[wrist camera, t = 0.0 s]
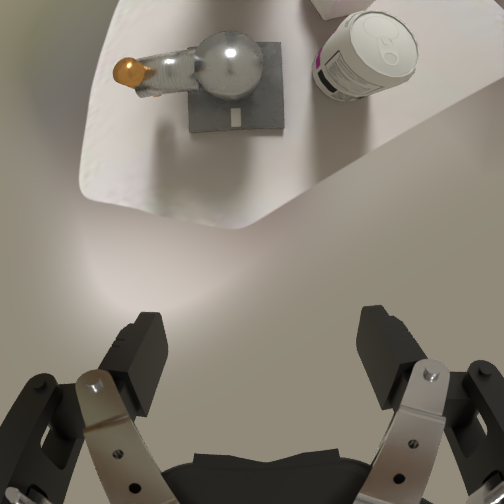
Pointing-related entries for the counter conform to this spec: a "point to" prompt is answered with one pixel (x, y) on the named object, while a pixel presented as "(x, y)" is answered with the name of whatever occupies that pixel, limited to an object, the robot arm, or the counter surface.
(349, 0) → the medicine bottle
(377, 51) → the supplement can
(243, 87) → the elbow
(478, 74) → the counter surface
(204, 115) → the grey stand with base
